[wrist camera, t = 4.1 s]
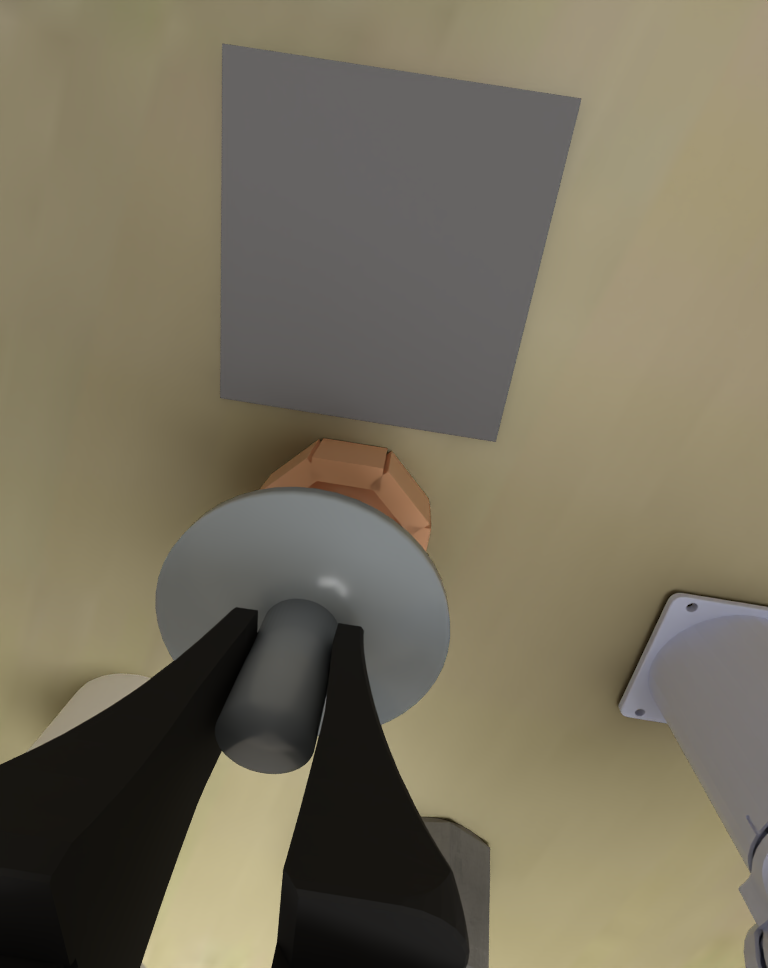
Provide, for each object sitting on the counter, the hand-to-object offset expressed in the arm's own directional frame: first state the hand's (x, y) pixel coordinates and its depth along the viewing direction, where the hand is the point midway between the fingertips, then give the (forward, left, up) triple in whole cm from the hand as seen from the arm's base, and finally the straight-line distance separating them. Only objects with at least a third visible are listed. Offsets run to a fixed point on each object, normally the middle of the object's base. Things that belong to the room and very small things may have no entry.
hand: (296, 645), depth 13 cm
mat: (0, -10, -10) cm, 14 cm away
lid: (0, 0, -1) cm, 1 cm away
